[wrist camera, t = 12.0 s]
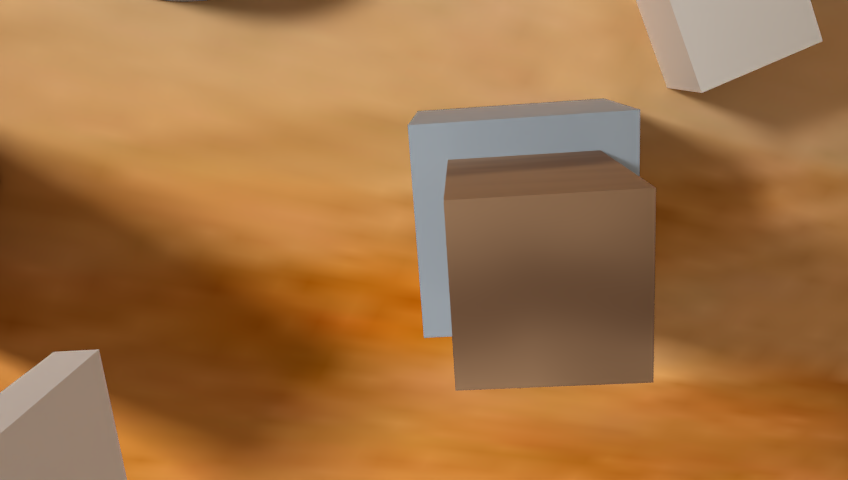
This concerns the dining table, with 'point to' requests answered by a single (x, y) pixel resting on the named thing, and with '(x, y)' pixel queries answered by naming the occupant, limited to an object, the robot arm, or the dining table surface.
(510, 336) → the walnut block
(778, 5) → the grey cube
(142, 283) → the dining table surface
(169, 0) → the dog bowl
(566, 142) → the slate block
